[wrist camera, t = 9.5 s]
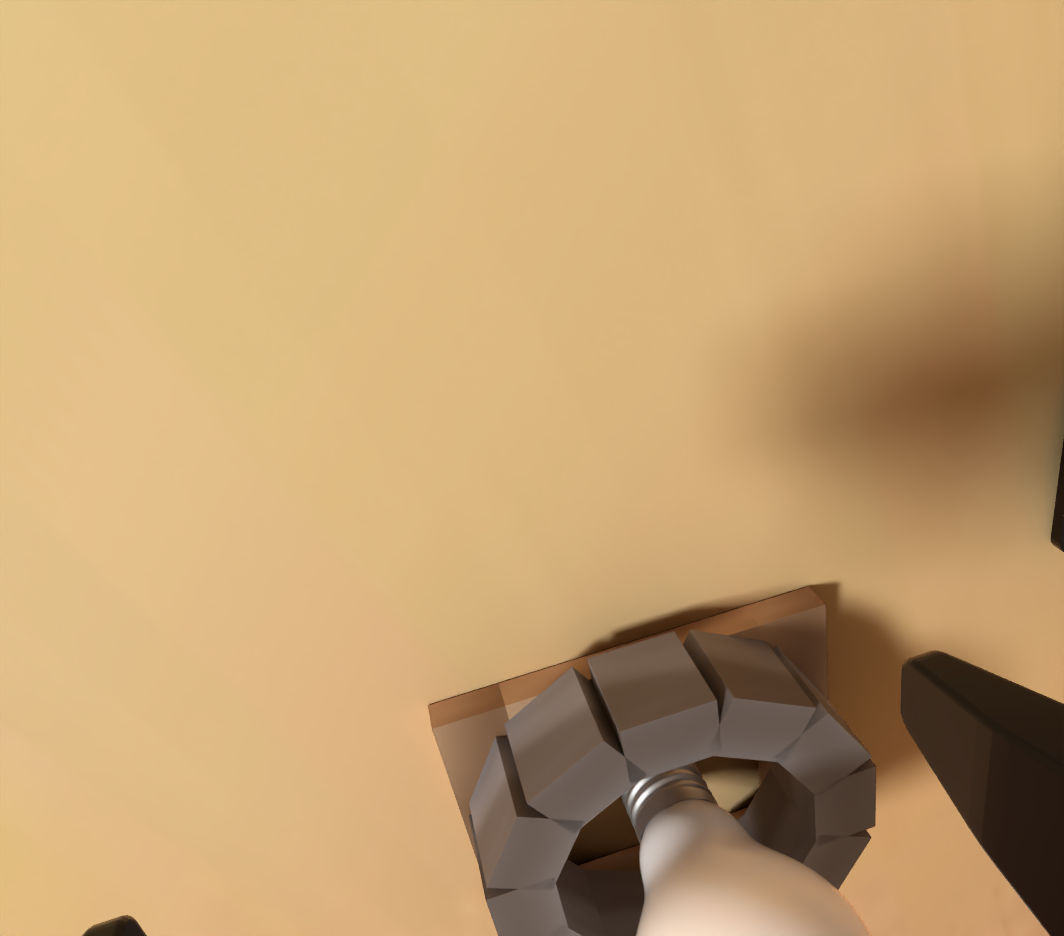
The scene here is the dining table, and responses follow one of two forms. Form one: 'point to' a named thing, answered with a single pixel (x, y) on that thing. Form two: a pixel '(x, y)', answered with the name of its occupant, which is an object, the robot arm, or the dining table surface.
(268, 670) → the dining table surface
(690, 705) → the grey stone fire pit
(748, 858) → the lightbulb
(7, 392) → the dining table surface
